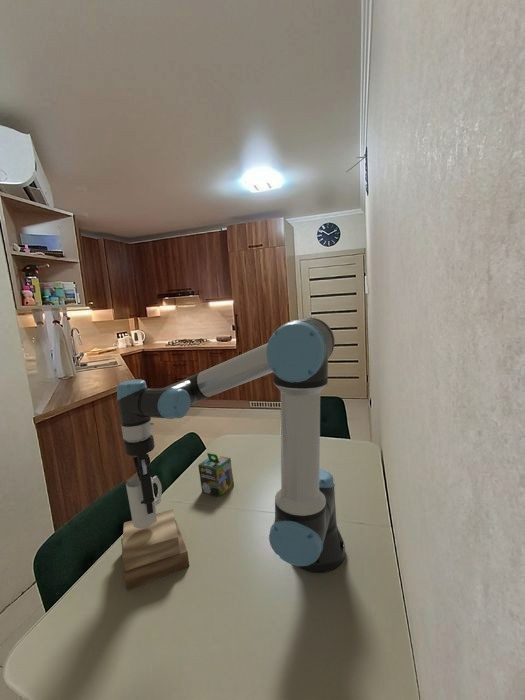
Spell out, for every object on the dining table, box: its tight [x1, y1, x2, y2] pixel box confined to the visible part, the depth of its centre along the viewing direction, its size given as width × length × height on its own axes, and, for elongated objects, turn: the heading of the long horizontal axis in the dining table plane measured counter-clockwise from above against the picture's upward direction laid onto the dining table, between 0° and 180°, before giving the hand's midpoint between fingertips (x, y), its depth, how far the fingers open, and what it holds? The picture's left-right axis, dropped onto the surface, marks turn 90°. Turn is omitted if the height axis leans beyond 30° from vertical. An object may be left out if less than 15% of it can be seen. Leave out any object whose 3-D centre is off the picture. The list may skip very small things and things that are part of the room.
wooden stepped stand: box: [120, 519, 190, 592], centre depth 98 cm, size 16×16×5 cm
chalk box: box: [198, 452, 235, 498], centre depth 132 cm, size 9×9×15 cm
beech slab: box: [121, 509, 180, 571], centre depth 97 cm, size 14×14×5 cm
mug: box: [125, 475, 163, 528], centre depth 97 cm, size 10×7×12 cm, turn 144°
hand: (149, 515), depth 97 cm, fingers closed on mug, 6 cm apart
